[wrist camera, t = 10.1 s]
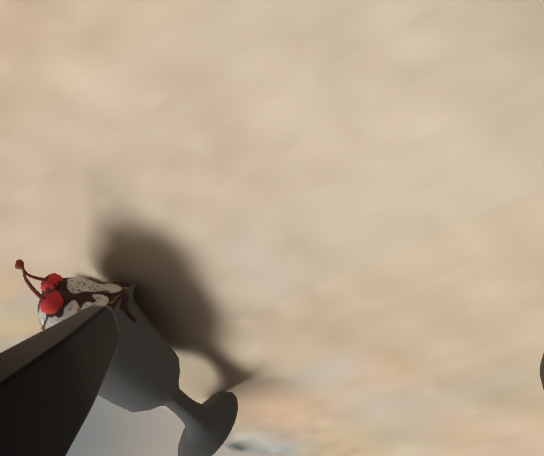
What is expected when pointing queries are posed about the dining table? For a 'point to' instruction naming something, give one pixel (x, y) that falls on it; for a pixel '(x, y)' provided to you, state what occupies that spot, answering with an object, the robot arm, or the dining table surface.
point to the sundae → (139, 360)
